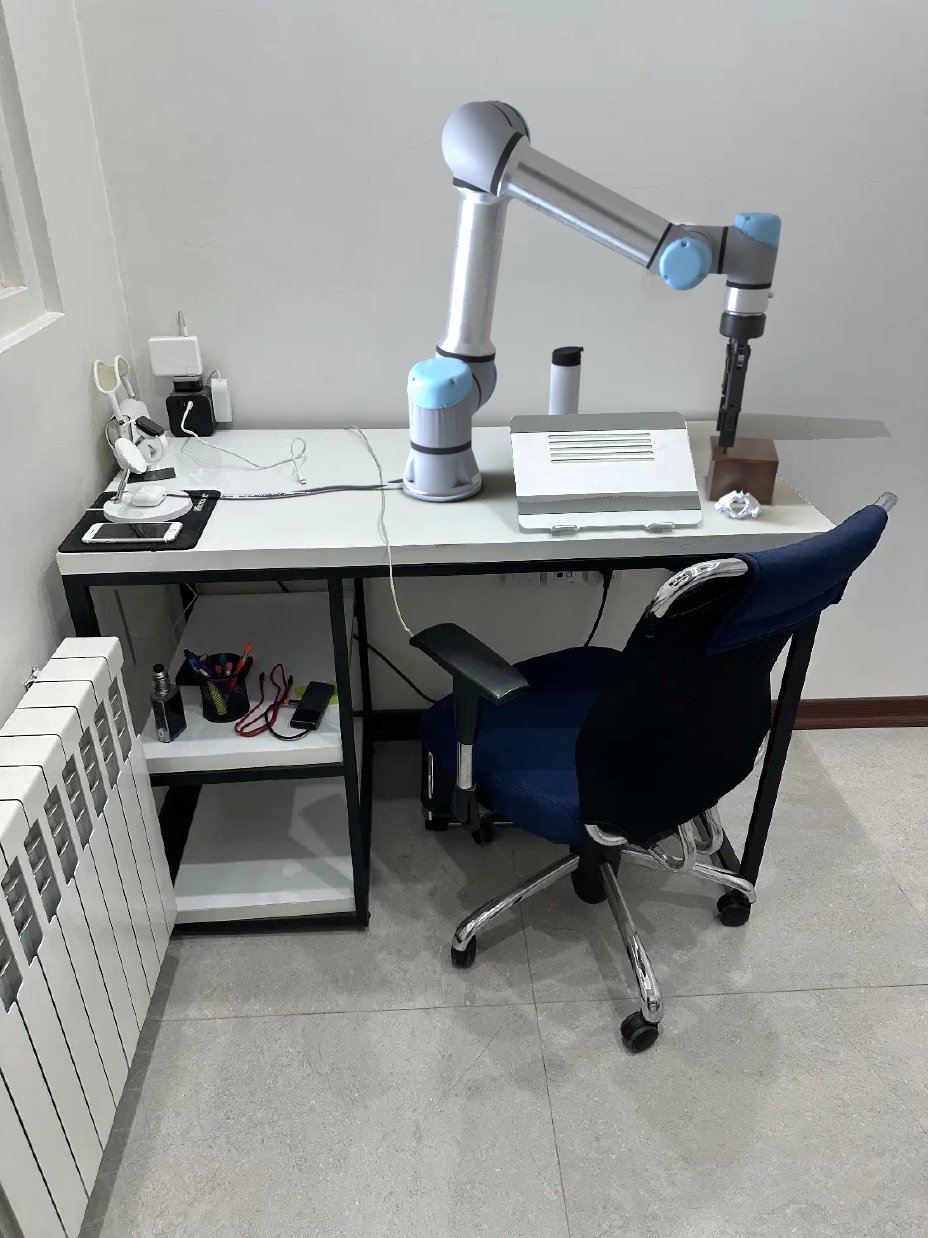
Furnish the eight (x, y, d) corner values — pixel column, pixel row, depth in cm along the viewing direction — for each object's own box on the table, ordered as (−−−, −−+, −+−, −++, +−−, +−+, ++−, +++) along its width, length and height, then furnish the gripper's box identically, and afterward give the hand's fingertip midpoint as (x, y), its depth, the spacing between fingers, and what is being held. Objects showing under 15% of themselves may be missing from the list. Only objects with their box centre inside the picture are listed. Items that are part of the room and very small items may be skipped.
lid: (711, 460, 158) (718, 416, 154) (709, 439, 167) (715, 397, 163) (778, 465, 156) (786, 420, 151) (772, 443, 165) (780, 401, 161)
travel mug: (576, 444, 188) (582, 351, 178) (546, 442, 189) (550, 349, 179) (578, 435, 193) (584, 344, 183) (549, 433, 194) (553, 342, 184)
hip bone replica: (714, 499, 153) (720, 482, 158) (712, 520, 155) (717, 503, 160) (761, 505, 150) (766, 488, 155) (758, 526, 153) (762, 509, 158)
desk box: (708, 500, 162) (714, 461, 158) (707, 477, 171) (712, 439, 167) (770, 505, 160) (778, 465, 156) (765, 481, 169) (772, 443, 165)
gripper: (772, 326, 140) (749, 459, 152) (762, 300, 157) (741, 421, 169) (724, 324, 141) (705, 456, 153) (719, 298, 159) (702, 419, 170)
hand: (724, 438), depth 161 cm, fingers closed on lid, 8 cm apart
